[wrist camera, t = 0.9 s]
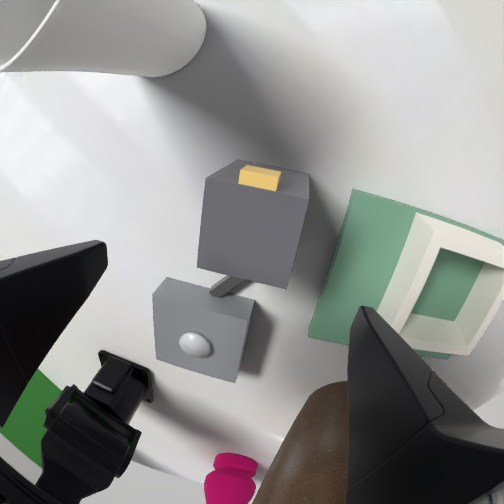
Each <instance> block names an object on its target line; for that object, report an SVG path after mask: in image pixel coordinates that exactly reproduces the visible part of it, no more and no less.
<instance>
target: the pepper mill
mask: <svg viewBox="0 0 504 504" xmlns="http://www.w3.org/2000/svg"><path fill="white" fill-rule="evenodd" d="M213 466H214V468H215V469H216V470H214V471H212V472H210V473H209V474H208V475H207V476H206V478H205V483H204V492H205V497H206V504H248V502H249V501H250V500H251V499H252V497H253V495H254V492H255V489H256V485H255V482H254V481H253V479H252V478H251V477H253V476H255V474H256V469H257V463H256V462H255V461H253V460H252V459H250V458H248V457H245V456H241V455H237V454H231V453H223V454H219V455H217V456H216V458H215V461H214V465H213Z"/></svg>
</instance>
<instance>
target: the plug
mask: <svg viewBox="0 0 504 504" xmlns="http://www.w3.org/2000/svg"><path fill="white" fill-rule="evenodd" d="M308 202H309V174H306V173H301V172H297V171H292V170H288V169H283V168H278V167H273V166H268V165H263V164H258V163H253V162H248V161H242V160H237V161H235V162H233V163H231V164H230V165H228V166H226V167H224V168H222V169H221V170H219V171H217V172H216V173H214V174H212V175H210V176H209V177H207V178H206V181H205V189H204V198H203V207H202V217H201V227H200V238H199V249H198V260H197V268H201V269H205V270H209V271H213V272H217V273H221V274H225V275H229V276H233V277H237V278H241V279H245V280H249V281H254V282H258V283H262V284H266V285H271V286H275V287H279V288H283V289H287V286H288V282H289V278H290V274H291V271H292V267H293V263H294V259H295V255H296V251H297V247H298V243H299V239H300V235H301V231H302V227H303V223H304V219H305V215H306V211H307V207H308Z"/></svg>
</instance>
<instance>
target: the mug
mask: <svg viewBox="0 0 504 504" xmlns="http://www.w3.org/2000/svg"><path fill="white" fill-rule="evenodd" d="M205 35H206V19H205V16H204V13H203V11H202V10H201V8H200V7H199V6H198V5H197V4H196V3H195V2H194V1H193V0H0V72H31V71H82V72H100V73H112V74H122V75H134V76H143V77H162V76H166V75H169V74H172V73H174V72H176V71H178V70H179V69H181V68H182V67H184V66H185V65H186V64H188V63H189V62H190V61H191V60H192V59H193V58H194V56H195V55H196V54H197V53H198V51H199V49H200V48H201V46H202V44H203V41H204V39H205Z"/></svg>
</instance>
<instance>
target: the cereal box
mask: <svg viewBox="0 0 504 504" xmlns="http://www.w3.org/2000/svg"><path fill="white" fill-rule="evenodd" d="M61 392H62V391H61V390H60V389H59V388H58V387H57V386H56V385H55V384H54V383H52V382H51V381H50V380H49V379H48V378H47V377H46V376H45V375H44V374H43V373H42V372H41V371H40V370H39V369H37V370H36V372H35V373H34V375H33V377H32V378H31V380H30V381H29V382H28V385H27V387H26V388H25V390H24V392H23V393H22V395H21V397H20V398H19V400H18V402H17V403H16V405H15V407H14V409H13V410H12V412H11V414H10V416H9V418H8V420H7V421H6V423H5V425H4V426H3V428H1V427H0V456H1V457H2V458H3V459H4V460H5V461H6V462H7V463H9V464H10V465H11V466H12V467H13V468H14V469H15V470H17V471H18V472H19V473H20V474H21V475H23V476H24V477H25V478H26V479H28V480H29V481H30V482H32V483H33V484H34V485H35V484H36V482H37V481H38V479H39V477H40V476H41V474H42V461H41V440H42V438H43V436H44V435H45V433H46V432H47V430H46V429H45V428H44V427H43V425H44V423H45V418H46V415H45V410H46V408H47V407H48V406H49V405H50V404H51V403H52V402H53V401H54V400H55V399H56V398H57V397H58V396H59V395H60V394H61ZM70 405H71V404H70Z"/></svg>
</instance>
